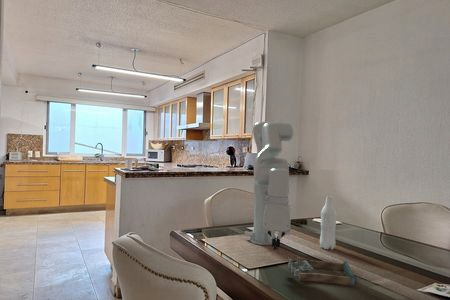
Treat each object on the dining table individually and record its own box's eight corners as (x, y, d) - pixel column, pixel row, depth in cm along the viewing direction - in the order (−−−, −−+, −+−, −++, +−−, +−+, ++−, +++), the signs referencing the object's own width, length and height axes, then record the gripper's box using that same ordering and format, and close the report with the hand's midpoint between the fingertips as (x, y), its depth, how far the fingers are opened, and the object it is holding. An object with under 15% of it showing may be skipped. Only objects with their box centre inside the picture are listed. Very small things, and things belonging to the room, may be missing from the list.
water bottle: (336, 251, 141) (338, 197, 141) (320, 249, 143) (322, 196, 143) (333, 246, 148) (336, 195, 148) (318, 245, 150) (320, 194, 150)
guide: (298, 280, 107) (299, 270, 107) (296, 263, 124) (297, 254, 124) (355, 287, 103) (355, 277, 103) (345, 268, 120) (345, 259, 120)
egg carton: (286, 267, 120) (286, 256, 120) (305, 267, 120) (305, 257, 120) (294, 278, 109) (294, 266, 109) (314, 278, 110) (315, 267, 110)
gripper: (257, 200, 114) (255, 249, 114) (298, 203, 112) (296, 253, 111) (259, 198, 122) (257, 244, 121) (297, 200, 119) (295, 247, 118)
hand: (275, 248), depth 116 cm, fingers closed
